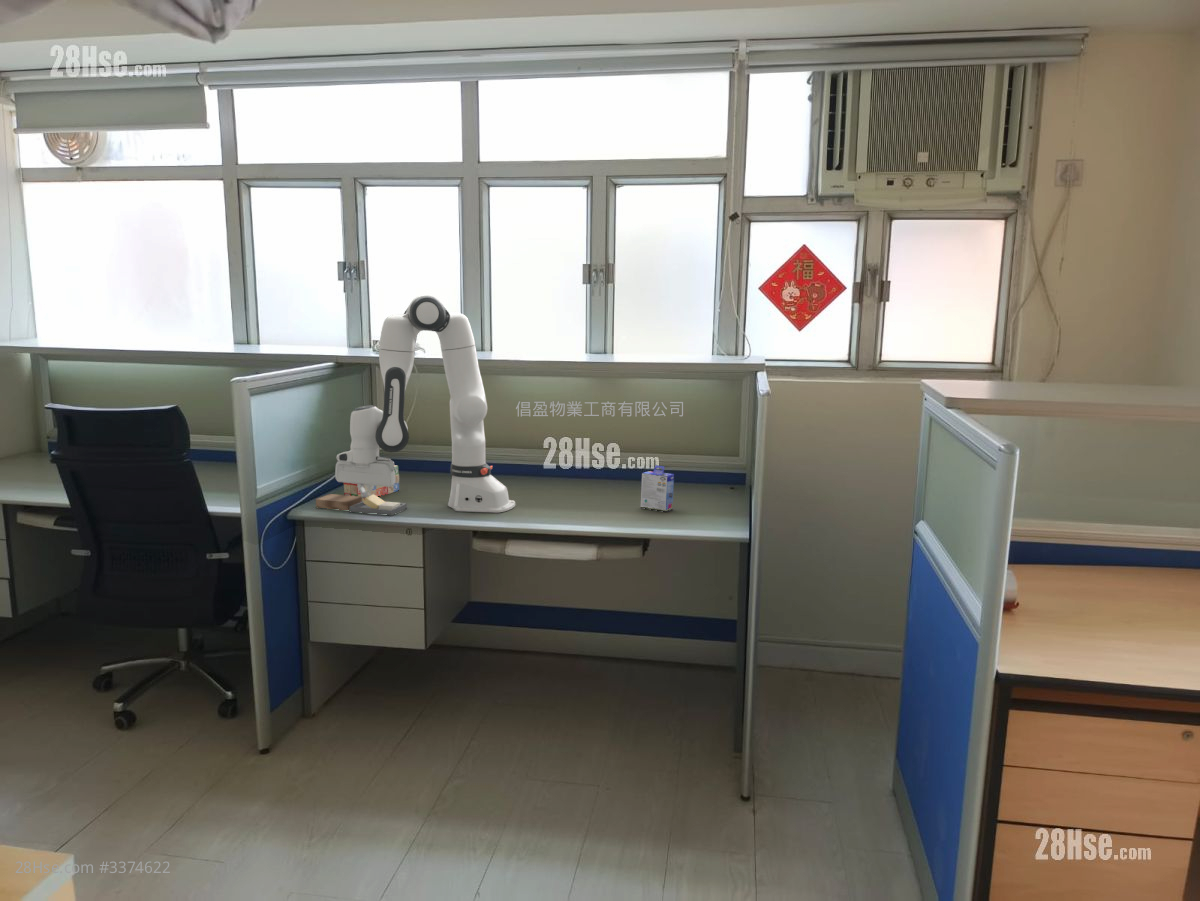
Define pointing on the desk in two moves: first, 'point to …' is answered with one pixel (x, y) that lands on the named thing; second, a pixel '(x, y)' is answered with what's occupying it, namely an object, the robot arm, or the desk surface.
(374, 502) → the ochre tile
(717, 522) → the desk surface
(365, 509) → the tray
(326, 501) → the walnut ledge
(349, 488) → the stack of blocks
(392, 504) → the cream tile
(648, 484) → the ink cartridge box
